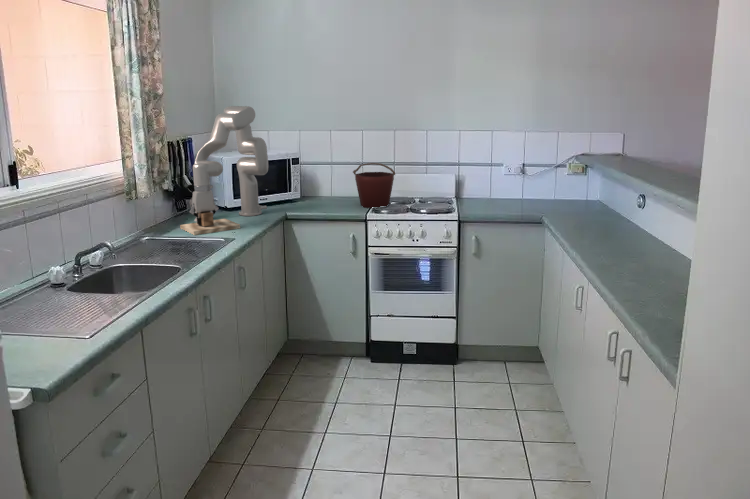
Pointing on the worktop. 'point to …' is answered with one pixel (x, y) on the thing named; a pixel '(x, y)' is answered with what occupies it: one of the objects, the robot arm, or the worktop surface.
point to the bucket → (374, 187)
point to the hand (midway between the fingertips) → (205, 224)
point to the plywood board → (210, 227)
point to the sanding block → (207, 219)
